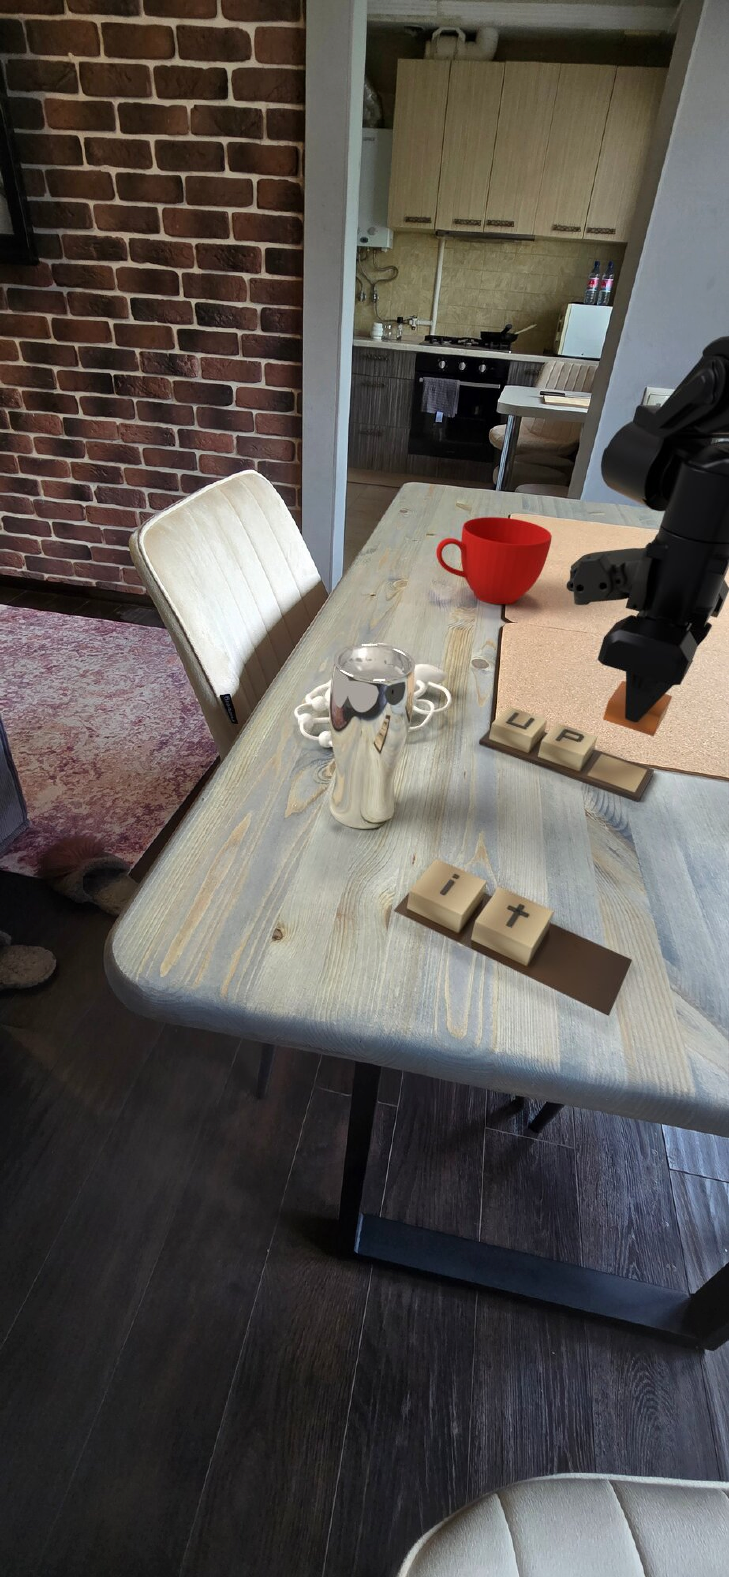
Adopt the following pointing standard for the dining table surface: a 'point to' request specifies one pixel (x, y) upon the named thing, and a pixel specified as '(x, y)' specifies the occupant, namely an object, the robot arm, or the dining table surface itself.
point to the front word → (515, 935)
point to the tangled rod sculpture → (422, 681)
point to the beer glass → (368, 730)
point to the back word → (565, 753)
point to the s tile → (646, 723)
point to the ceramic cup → (499, 557)
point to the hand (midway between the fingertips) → (638, 708)
